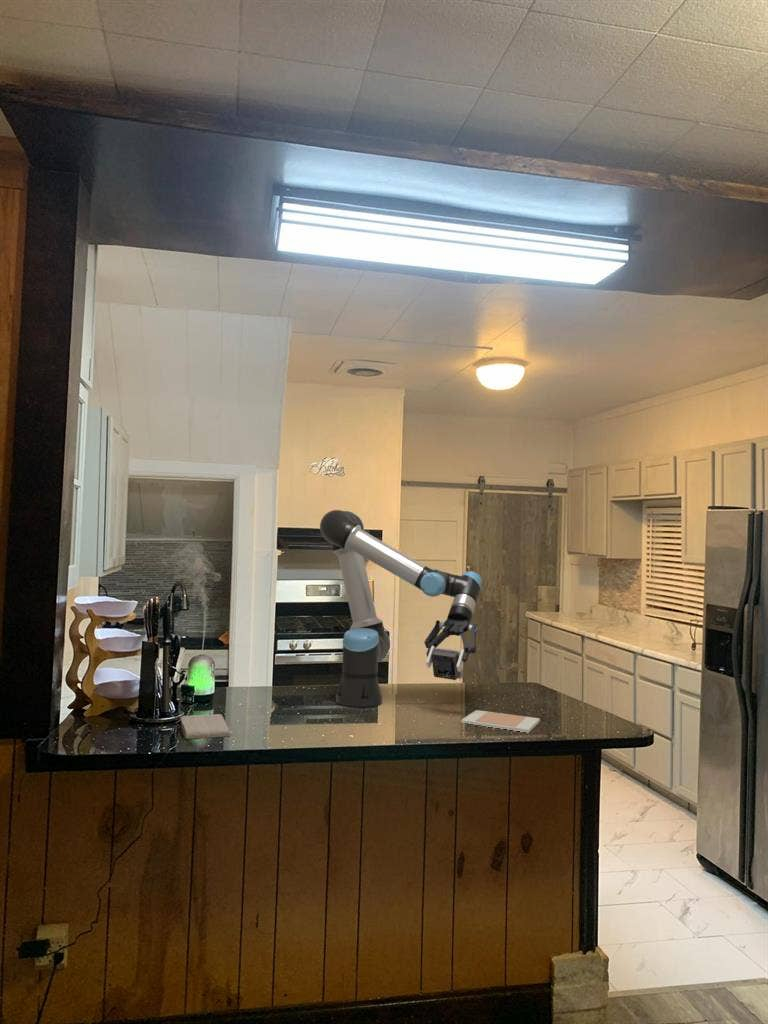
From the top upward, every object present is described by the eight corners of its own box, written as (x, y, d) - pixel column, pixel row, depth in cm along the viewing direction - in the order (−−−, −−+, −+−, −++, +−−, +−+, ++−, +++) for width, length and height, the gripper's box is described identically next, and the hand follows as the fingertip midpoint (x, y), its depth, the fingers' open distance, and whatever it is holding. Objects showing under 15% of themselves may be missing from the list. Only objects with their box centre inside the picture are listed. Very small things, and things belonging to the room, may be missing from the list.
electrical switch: (463, 678, 223) (463, 649, 223) (456, 683, 219) (455, 653, 218) (437, 674, 228) (436, 646, 228) (429, 678, 224) (428, 649, 223)
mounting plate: (461, 723, 212) (461, 719, 212) (476, 713, 225) (476, 709, 225) (528, 733, 203) (528, 728, 203) (539, 721, 217) (539, 717, 217)
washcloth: (221, 721, 206) (221, 711, 206) (231, 738, 190) (232, 727, 190) (178, 724, 202) (178, 713, 202) (185, 742, 185) (185, 729, 185)
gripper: (495, 621, 233) (479, 678, 218) (432, 616, 242) (412, 670, 227) (491, 606, 229) (475, 663, 214) (427, 601, 238) (407, 655, 223)
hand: (443, 667), depth 220 cm, fingers closed on electrical switch, 9 cm apart
